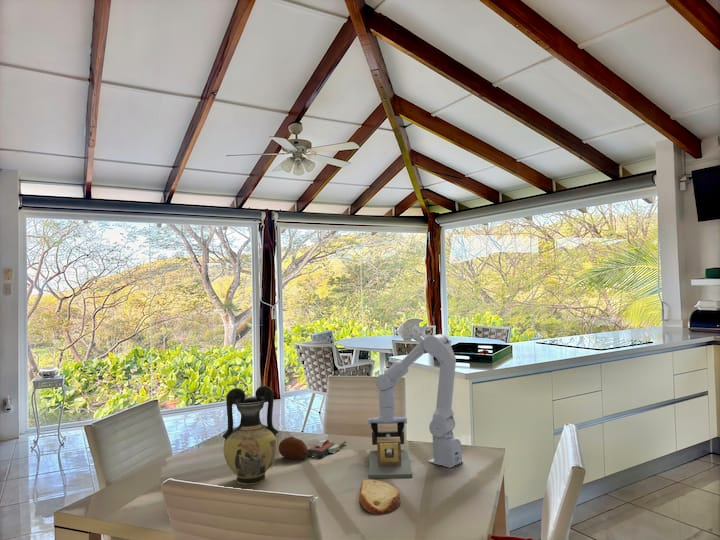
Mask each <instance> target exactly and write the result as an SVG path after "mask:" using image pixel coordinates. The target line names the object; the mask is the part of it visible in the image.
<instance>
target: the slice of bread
mask: <svg viewBox="0 0 720 540" xmlns="http://www.w3.org/2000/svg"><path fill="white" fill-rule="evenodd" d="M358 498H359V503H360V504H361V506H362V507H363V509H364V510H365V511H366V512H369V513H370V514H373V515H377V516H382V515H388V514H391V513H393V511H394V510H395V509H397V508H398V507H400V504H401V497H400V491H399V490H398V489H397V487H394V486H393V485H391V484H390V483H388V482H385V481H381V480H375V479H370V478H368V479H363V481H362V482H361V487H360V490H359V497H358Z"/></svg>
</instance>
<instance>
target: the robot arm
mask: <svg viewBox="0 0 720 540" xmlns="http://www.w3.org/2000/svg"><path fill="white" fill-rule="evenodd" d="M451 344H452V343H451V341H450V339H449V338H448V337H447V336H446V335H445V334H442V333H439V334H433V335H428V336H426V337H425V338H424V339H422V340H421V341H419V342H418V343H417V344H416V345H415V346H414V348H413V349H412V350H411V351H410V352H409V353H407V355H406V356H405V357H404V358H402V360H400V359H397V360H394V361H392V362H391V364H392V365H391V366H390V367H389V368H388V369H385V370H384V371H383V373H382V374H379V375H378V376H377V377H376V378H375V386H376V388H377V389H378V405H379V406H378V410H379V412H378V413H379V416H377V417H369V418H367V425H369V426H370V428H371V431H372V432H374V434H375V437H376V441H377V437H378V431H379V429H378V427H379V426H378V425H385V424H386V425H388V424H389V425H390V424H396V425H397V427H396V428H397V429H396V431H398V436H397V437H401V434H402V431H404V428H405V425H406V424H408V417H407V416H396V414H395V408H396V407H395V387H396V385H397V383H398V382H399V380H401V379H402V378H403V377H404V376H405V375H406V374H407V373H409V367H410V366H411V365H413V364H414V363H415V362H416V361H418V359H420V357H422V356H423V355H425V354H429V355H430V356H432V357H434V358H435V359H436V360H437V362H438V363H439V375H438V384H437V395H436V396H437V397H436V405H435V406H436V407H435V410H434V412H433V415H432V420H431V421H430V423H429V424H428V425H429V432H430V433H431V435H432V450H433V452H432V453H433V458H432V459H429V460H428V461H427V462H428V463H431V464H435V465H438V466H441V465H442V467H445V468H453V467H456V466H458V465H460V464H462V463H461V462H463V463H464V460H463V455H462V453H463V452H462V443H461V441H460V439H458V438H456V437H455V436H454V432H453V431H454V429H455V427H456V421H455V417H454V413H455V412H454V410H453V409H452V405H453V396H454V395H453V394H454V384H455V375H456V374H455V373H456V363H457V360H456V359H457V357H456V356H455V353H454V350H453V347H452V345H451ZM459 463H460V464H459ZM457 464H458V465H457ZM455 465H456V466H455Z"/></svg>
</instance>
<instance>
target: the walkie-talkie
mask: <svg viewBox="0 0 720 540" xmlns="http://www.w3.org/2000/svg"><path fill="white" fill-rule="evenodd" d="M346 443H347V440H344V441H342V442H341V443H339V444H335V443H334V442H332V441H330V440H329V439H321V440H320V441H318V443H315V444H314V445H313V446H312V447H309V448H307V449H308V456H314V457H313V458H315V457H323V456H324V455H326V454H327V453H333V452H336V451H337V450H339V449H340V450H341V447H343V446H344V445H345V444H346ZM340 450H339V451H340ZM337 452H338V451H337ZM337 452H336V453H337ZM333 454H334V453H333ZM327 455H328V454H327ZM327 455H326V456H327ZM308 456H307V457H308ZM324 457H325V456H324ZM324 457H323V458H324Z"/></svg>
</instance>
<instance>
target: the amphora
mask: <svg viewBox="0 0 720 540" xmlns="http://www.w3.org/2000/svg"><path fill="white" fill-rule="evenodd" d="M225 401H226V402H225V403H226V414H227V415H226V417H227V430H226V431H225V432H224V434H223V435H222V438H223V439H224V440H223V441H224V442H223V455H224V459H225V463H226V464H227V466H228V468H229V470H231V472H232V473H233V474H235V475H236V476H237V477H236V482H237V483H238V484H240V485H247V486H248V485H249V486H250V485H257V484H260V483H262V482H264V481H266V472H267V471H268V470H269V469H270V467H271V466H272V464H273V463H274V460H275V458H276V455H277V454H276V453H277V449H278V438H277V434H279V431H278V429H276V428H275V427H274V425H273V412H274V402H275V399H274V391H273V390H272V388H271V387H269V386H268V385H260V386H259V387H258V388H257V389H255V396H246V393H245V391H244V390H243V389H242V388H239V387H234V388H232V389H231V390H229V392H228V393H226V400H225ZM265 403H267V411H266V425H265V424H263V423H262V422H261V418H260V417H261V416H260V415H261V414H260V412H261V411H262V409H263V408H264V406H265V405H264V404H265ZM233 405H235V406H236V409H237V411H238V412H239V413H240V422H239V425H238V426H236V427H235V428H234V416H233V413H234V412H233Z"/></svg>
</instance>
